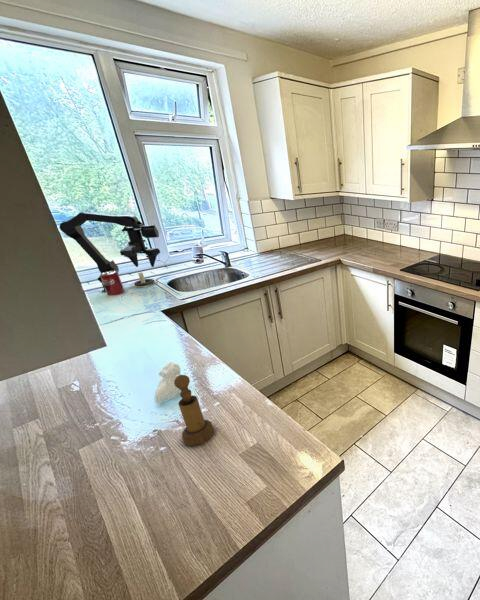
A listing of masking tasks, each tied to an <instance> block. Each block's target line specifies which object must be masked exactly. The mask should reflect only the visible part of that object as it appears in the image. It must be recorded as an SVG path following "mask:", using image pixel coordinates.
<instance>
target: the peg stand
mask: <svg viewBox="0 0 480 600" xmlns="http://www.w3.org/2000/svg"><path fill="white" fill-rule="evenodd" d="M137 274H138V277H139V280H140V281H141V283H146V282H145V279H146V278H145V275H144V272H142V271H141V272H137ZM153 284H158V280H155V282H154V283H152V284H150V285H146V286H136V285H134V284H131V285H129V287H130V288H147V287H149V286H152V285H153Z"/></svg>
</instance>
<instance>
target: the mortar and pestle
mask: <svg viewBox="0 0 480 600" xmlns="http://www.w3.org/2000/svg"><path fill="white" fill-rule="evenodd" d="M190 381H191V379H190V377H189V376H187V375H186V374H181V375H180V376H178V377H176V378H175V380H174V385H175V386H176V387H177V388H179V389H180V390H181V393H180V394H179V396H180V399H179V401H178V402H177V404H178V407H179V411H180V413H181V416H182V419H183V422H184V425H185V428H184V429H183V430H182V434H181V437H182V440H183V443H184V444H185V446H187V447H196V446H200V445H201V444H203V443H205V442H207V441H208V440H209V439H211V437H212V436H213V435H214V427H213V423H212V422H211V421H210V420H208V419H205V418H204V415H203V412H202V409H201V405H200V402H199V398H198V396H196V395H192V389H189V385H190Z"/></svg>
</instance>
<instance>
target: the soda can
mask: <svg viewBox="0 0 480 600" xmlns="http://www.w3.org/2000/svg"><path fill="white" fill-rule="evenodd" d="M99 276H100V277H101V279H102V282H103V285H104V287H105V290H106V292H105V293H106V296H117V295H122V294H124V293H125V292H126V291H125V287H124V285H123V283H122V279H121V277H120V274H119V272H117V271H108V272H104V273H101V272H100V274H99ZM103 285H102V286H103Z"/></svg>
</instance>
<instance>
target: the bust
mask: <svg viewBox="0 0 480 600" xmlns="http://www.w3.org/2000/svg"><path fill="white" fill-rule="evenodd" d="M180 375H182V373H181V367H180V365H179V363H174V362H173V361H171V362H169V363H168V364H166V365H164V366H163V367H162V370H161V371H160V372H158V376H159V377H161V378H160V380H159V381H158V385H157V388H156V390H155V392H154V402H155V403H156V404H157V405H162V404H164V403H165V402H167V401H168V400H172V399H175V398H177V397H178V396H180V393H181V390H180V389H179V388H177V387H176V386H175V385H174V380H175V378H176V377H178V376H180Z"/></svg>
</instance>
